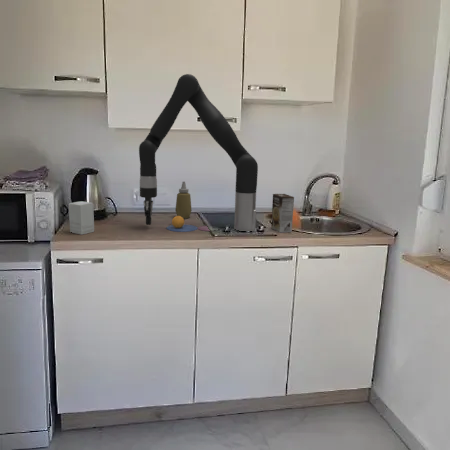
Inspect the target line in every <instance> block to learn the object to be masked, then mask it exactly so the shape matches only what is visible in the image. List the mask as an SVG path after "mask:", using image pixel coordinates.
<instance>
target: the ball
mask: <svg viewBox="0 0 450 450" xmlns="http://www.w3.org/2000/svg"><path fill="white" fill-rule="evenodd" d="M171 225H173V226H174V227H175V228H181V227H183V225H185V218H182V217H181V216H177V215H175V216H174V217H173V218H172V220H171Z"/></svg>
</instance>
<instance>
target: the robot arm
mask: <svg viewBox="0 0 450 450" xmlns="http://www.w3.org/2000/svg"><path fill="white" fill-rule="evenodd" d="M187 102H188V103H189V104H190V106H191V107H192V108H193V109H194V111H195V112H196V114H197V115H198V117H199V119H200V121H201V122H202V125H203V126H204V128H205V129H206V131H207V132H208V134H209V135H210V136H211V137H212V138H213V140H214V141H215V142H216V143H217V144H218V145H219V146H220V147H221V148H222V149H223V150H224V151H225V152H226V153H227V154H228V156H229V157H230V160H231V161H232V163H233V164H234V166H235V167H236V168H235V174H236V175H235V194H234V195H235V197H234V199H235V200H234V223H233V226H234V227H233V229H236V230H239V231H252V232H256V225H257V209H256V205H257V188H258V172H259V170H258V169H259V166H258V162H257V159H255V157H253V156H252V155H251V153H249V151H247V149H246V148H245V147H244V146H243V145H242V142H241V141H240V139H239V138H238V136H237V134H236V133H235V130H233V127H232V126H231V124H230V123H229V122H228V120H227V119H226V117H225V116H224V114H222V112H220V110H219V109H218V108H217V107H216V106H215V105H214V104H213V103H212V102H211V101H210V100H209V98H208V97H207V96H206V94H205V92H204V91H203V88H202V87H201V85H200V83H199V81H198V79H197V77H196V76H194V75H192V74H190V73H186V74H182V75H181V76H180V77H179V78H178V80H177V83H176V85H175V87H174V90H173V91H172V94H171V97H170V98H169V100H168V102H167V103H166V105H165V107H164V108H163V109H162V111H161V112H160V113H159V115H158V117H157V119H156V120H155V121H154V123H153V124H152V126H151V128H150V131H149V133H148V135H147V136H146V137H145V139H144V140H143V141H142V142H141V143H140V144H139V146H138V154H139V155H138V156H139V163H140V164H139V165H140V166H139V174H140V176H139V197H140V198H144V201H143V206H144V207H143V208H144V209H143V211H144V217H145V224H146V226H151V225H152V216H153V210H154V209H153V207H154V200H153V199H152V198H157V196H158V180H157V165H156V164H157V163H156V153H157V151H158V150H159V148H160V146H161V144H162V142H163V141H164V139H165V137H167V135H168V133H169V132H170V130H171V128H172V127H173V125H174V123H175V122H176V119H178V116H179V115H180V113H181V111H182V109H183V107H184V106H185V105H186V104H187ZM236 230H235V231H236ZM239 231H238V232H239Z"/></svg>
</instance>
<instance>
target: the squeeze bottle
mask: <svg viewBox="0 0 450 450" xmlns="http://www.w3.org/2000/svg"><path fill="white" fill-rule="evenodd" d="M191 198H192V197H191V194H190V193H189V188H187V186H186V181H182V182H181V188H179V189H178V193H177V195H176V202H175V213H176V216H181V217H182V218H183V219H189V218H190V216H191V213H192V199H191Z"/></svg>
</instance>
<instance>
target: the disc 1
mask: <svg viewBox="0 0 450 450" xmlns="http://www.w3.org/2000/svg"><path fill="white" fill-rule="evenodd" d="M198 227H199V226H198ZM198 227H197V226H196V225H192V224H184V225H183V227H181V228H175V227H174V226H173V225H172V224H170V225H167V226H166V230H168V231H170V232H177V233H181V232H182V233H187V232H189V233H190V232H194V231H197V230H199V229H198Z"/></svg>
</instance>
